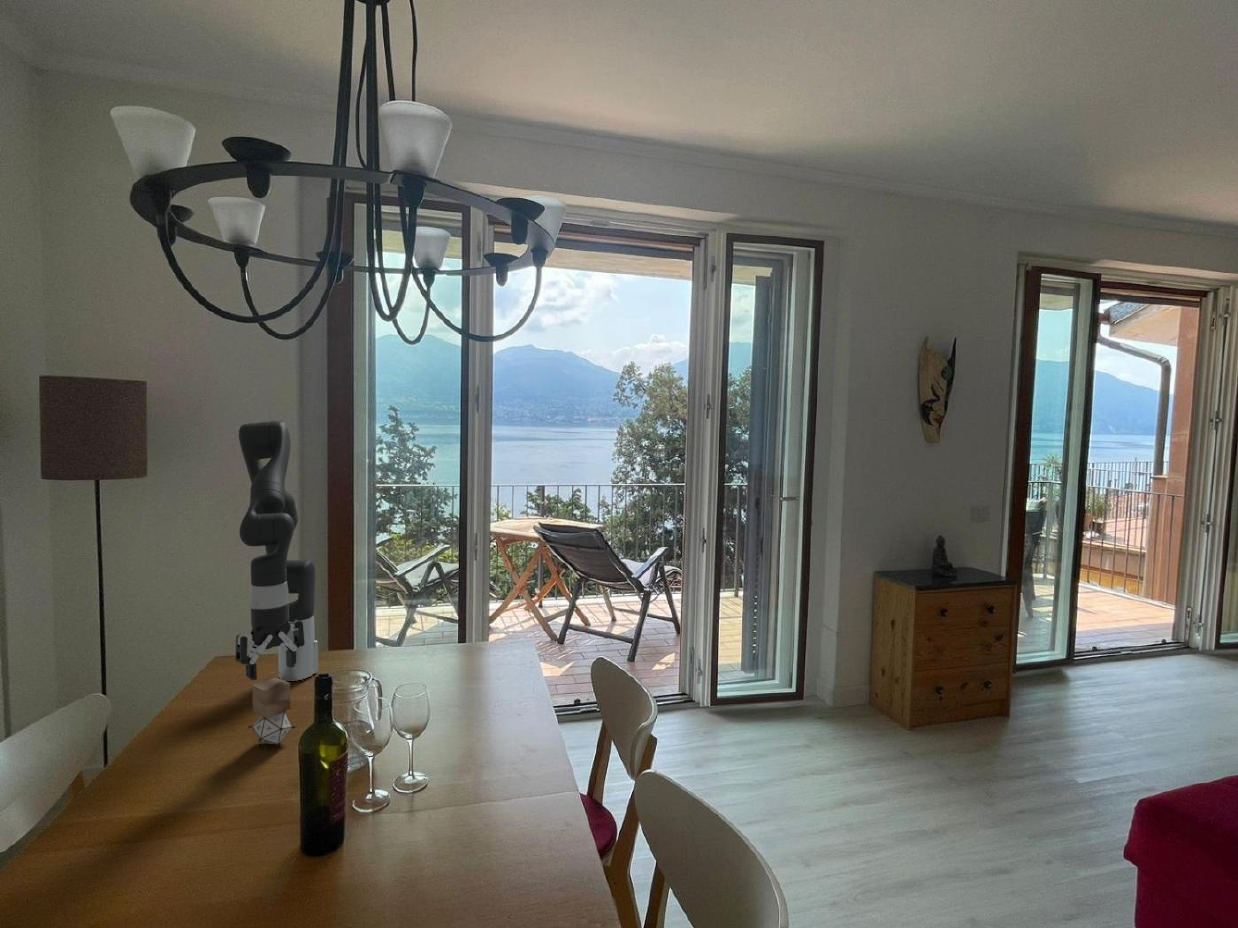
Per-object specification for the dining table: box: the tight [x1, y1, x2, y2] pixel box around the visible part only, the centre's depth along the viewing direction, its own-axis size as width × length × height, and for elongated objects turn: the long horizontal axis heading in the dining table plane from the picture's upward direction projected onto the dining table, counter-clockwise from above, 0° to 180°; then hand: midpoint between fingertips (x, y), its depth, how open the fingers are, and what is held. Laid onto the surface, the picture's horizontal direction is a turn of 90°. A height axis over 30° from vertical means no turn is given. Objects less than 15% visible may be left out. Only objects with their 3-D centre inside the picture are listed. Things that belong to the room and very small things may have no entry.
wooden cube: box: [251, 677, 291, 718], centre depth 148 cm, size 6×6×6 cm
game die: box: [247, 711, 297, 745], centre depth 148 cm, size 9×8×10 cm
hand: (271, 672), depth 147 cm, fingers open, 8 cm apart
